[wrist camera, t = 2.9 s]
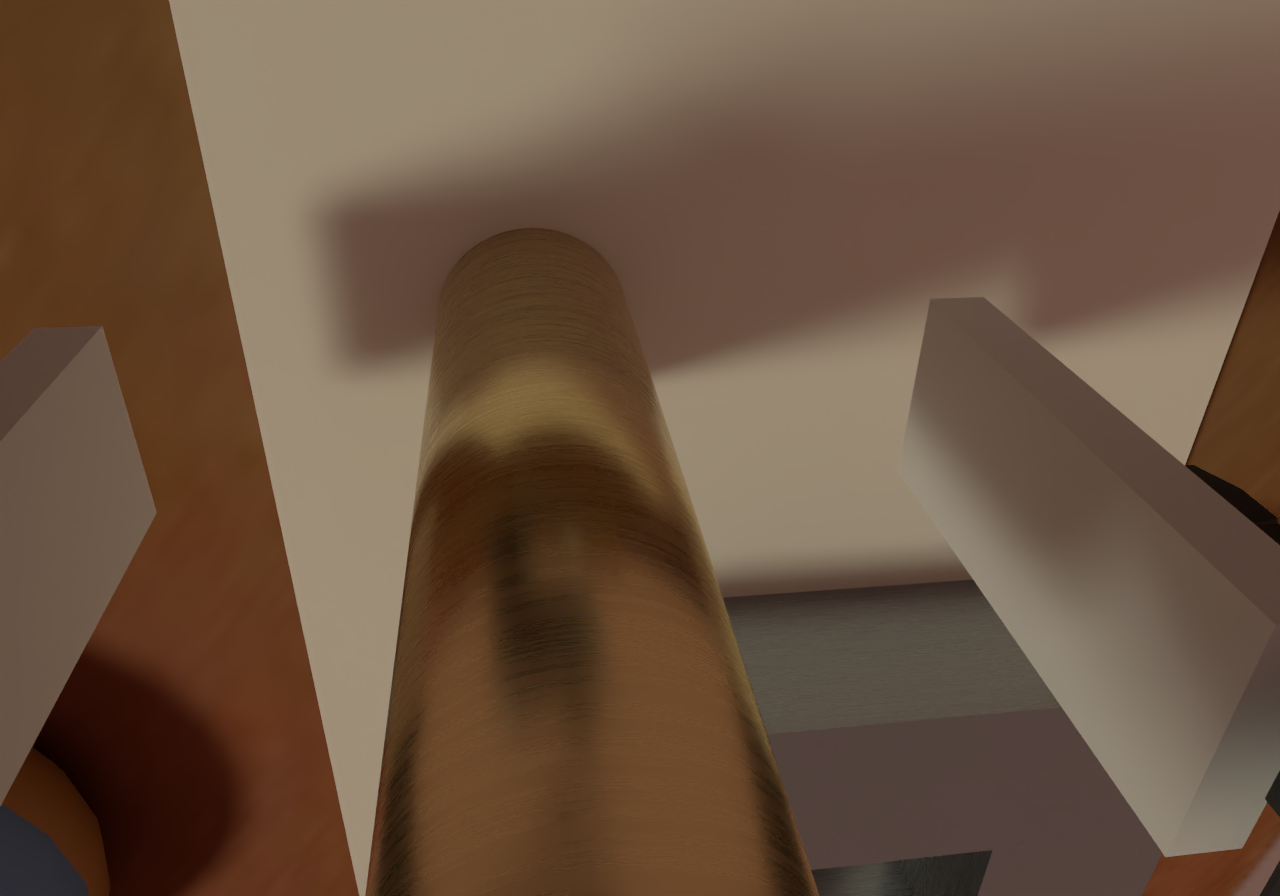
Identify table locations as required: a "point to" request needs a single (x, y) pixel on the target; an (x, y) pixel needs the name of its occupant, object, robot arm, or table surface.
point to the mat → (716, 247)
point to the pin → (565, 620)
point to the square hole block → (930, 749)
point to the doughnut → (49, 836)
